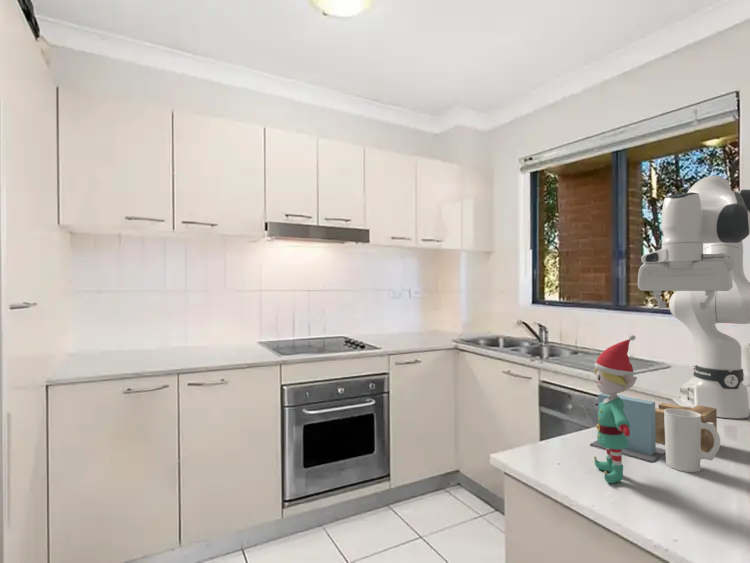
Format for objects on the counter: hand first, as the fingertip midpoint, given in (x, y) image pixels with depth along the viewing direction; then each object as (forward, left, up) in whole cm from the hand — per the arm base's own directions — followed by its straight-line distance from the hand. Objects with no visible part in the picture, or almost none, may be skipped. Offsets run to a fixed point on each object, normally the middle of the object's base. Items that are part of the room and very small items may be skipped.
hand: (682, 308), depth 114 cm
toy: (+24, -26, -34) cm, 49 cm away
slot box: (+1, -1, -34) cm, 34 cm away
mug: (+18, -8, -34) cm, 40 cm away
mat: (+7, -17, -34) cm, 39 cm away
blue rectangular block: (+7, -17, -34) cm, 38 cm away
